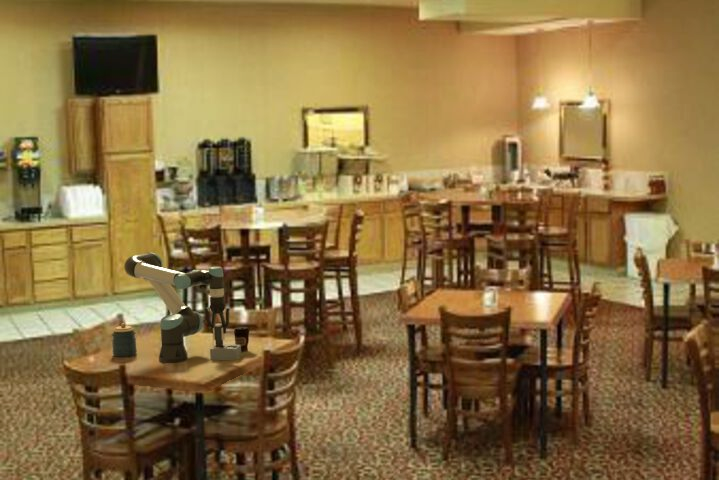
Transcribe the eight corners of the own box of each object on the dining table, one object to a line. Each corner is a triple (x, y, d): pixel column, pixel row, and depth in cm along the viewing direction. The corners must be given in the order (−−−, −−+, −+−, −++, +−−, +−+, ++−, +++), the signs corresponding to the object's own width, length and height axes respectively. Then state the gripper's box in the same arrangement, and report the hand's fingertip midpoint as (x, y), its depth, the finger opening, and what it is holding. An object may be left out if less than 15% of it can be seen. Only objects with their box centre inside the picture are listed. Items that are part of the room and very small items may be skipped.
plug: (214, 347, 535) (213, 325, 534) (216, 346, 539) (215, 323, 538) (222, 347, 535) (220, 325, 533) (224, 346, 539) (223, 323, 537)
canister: (107, 355, 550) (106, 323, 548) (128, 351, 560) (126, 319, 558) (121, 358, 541) (119, 326, 539) (141, 354, 551) (140, 322, 549)
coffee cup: (247, 353, 547) (246, 329, 546) (232, 352, 549) (231, 329, 547) (251, 349, 556) (251, 326, 554) (237, 349, 557) (236, 326, 556)
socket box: (210, 359, 533) (209, 348, 533) (216, 355, 543) (215, 343, 542) (236, 360, 531) (235, 348, 530) (241, 355, 541) (240, 344, 540)
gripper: (199, 297, 531) (201, 340, 534) (230, 297, 529) (232, 341, 531) (203, 294, 539) (205, 337, 542) (234, 294, 536) (236, 338, 539)
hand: (219, 339), depth 536 cm, fingers closed on plug, 4 cm apart
